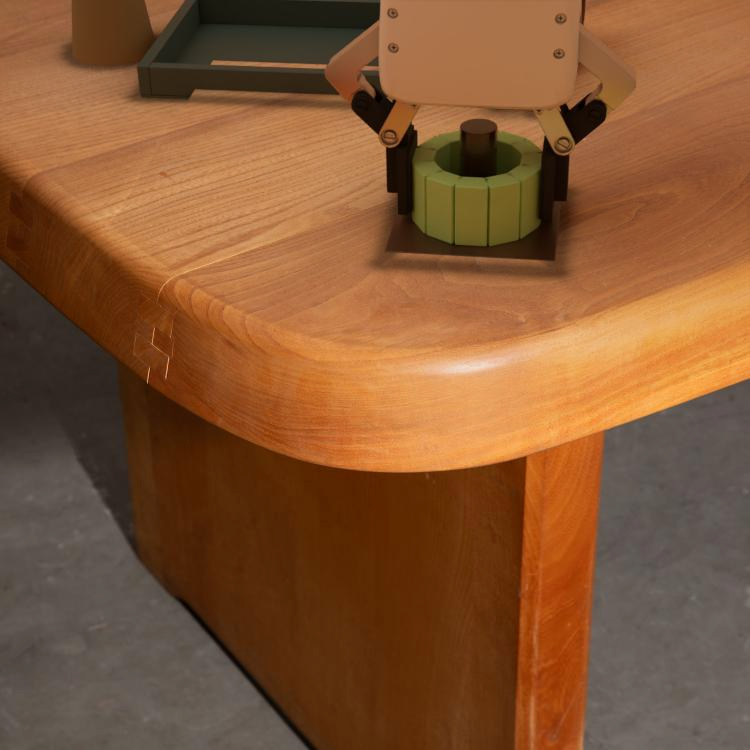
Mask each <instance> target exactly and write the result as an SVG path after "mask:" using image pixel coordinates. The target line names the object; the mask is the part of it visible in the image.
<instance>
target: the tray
mask: <svg viewBox="0 0 750 750" xmlns="http://www.w3.org/2000/svg"><path fill="white" fill-rule="evenodd" d="M378 20H380V0H184V1H183V2H182V4H181V5H180V7H179V8H178V9H177V10H176V12H175V13H174V14H173V16H172V17H171V18H170V20H169V21H168V23H167V25H166V26H165V27H164V28H163V30H162V31H161V32H160V34H159V35H158V37H157V38H155V42H154V43H153V45H152V46H151V48H150V49H149V50H148V52H147V53H146V54H145V56H144V57H143V59H142V60H140V61H139V62H138V64H137V66H136V71H137V72H136V73H137V79H138V87H139V88H138V89H139V94H140V98H146V99H147V98H149V99H172V100H173V99H174V100H176V99H177V100H190V98H191V97H192V95H193V93H194V92H195V90H204V91H229V92H230V91H231V92H253V93H254V92H256V93H278V94H279V93H281V94H302V95H303V94H306V95H310V94H311V95H332V96H341V95H340V94H339V92H338V91H337V90H336V89H335V88H334V87H333V86H332V85H331V83H330V82H329V81H328V80H327V79H326V77H325V74H324V72H325V69H326V68H315V67H314V68H311V67H290V66H289V67H288V66H287V67H286V66H262V65H261V66H260V65H231V64H213V61H214V62H215V61H216V62H238V63H239V62H240V63H241V62H242V63H266V64H267V63H269V64H270V63H271V64H295V65H296V64H297V65H322V66H323V65H325V66H327V64H328V62H329V60H330V59H331V58H332V57H333V56H334V55H336V54H337V53H338V52H339V51H341V50H342V49H343V48H344V47H346V46H347V45H348V44H349V43H351V42H352V41H353V40H355V39H356V38H357V37H358V36H360V35H361V34H362V33H363V32H365V31H366V30H367V29H368V28H370V27H371V26H372V25H373V24H375V23H376V22H377V21H378ZM365 67H378V68H379V56H378V57H376V58H375V59H374V60H372V61H371V62H370V63H369V64H367V65H366V66H365ZM360 71H361V73H362V74H363V76H364V77H365V79H366V80H367V82H368V83H370V84H373V85H374V86H375V87H376V88H377V89H378V90H379V91H380V92H381V93H383V94H384V95H385V96H386V97H387V98H390V97H389V96H387V95H386V94H385V93H384V92H383V90H382V87H381V84H380V77H379V70H371V69H370V70H369V69H361V70H360Z"/></svg>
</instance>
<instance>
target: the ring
mask: <svg viewBox="0 0 750 750" xmlns="http://www.w3.org/2000/svg"><path fill="white" fill-rule="evenodd" d="M542 150H543V149H541V148H540V147H538V146H537V145H536V144H535V143H534V142H533V141H532V140H531V139H528V138H527V137H524V136H520V135H517V134H514V133H511V132H508V131H504V130H501V131H500V130H499V129H498V132H497V175H496V176H491V177H486V178H478V177H461V176H459V165H460V130H455V131H450V132H444V133H439V134H438V135H434V136H431V137H430V138H429V139H427V140H425V141H424V142H422V143H420V144H418V146H417V148H416V149H415V153H414V156H413V159H412V206H413V210H412V218H413V221H414V222H415V224H416V225H417V226H418V227H419V228H420V229H421V231H422V232H423V233H424V234H427V235H428V236H431V237H433V238H436V239H439V240H442V241H444V242H447V243H450V244H453V243H454V242H455V245H467V246H487V244H488V245H489V246H494V245H499V244H503V243H508V242H512V241H517V240H518V238H520V239H522V238H523V237H525V236H526V235H528V234H529V233H530V232H532V231H533V230H535V229H536V228H538V226H539V225H540V221H541V219H539V204H540V180H541V158H542Z"/></svg>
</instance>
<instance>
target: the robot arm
mask: <svg viewBox="0 0 750 750" xmlns="http://www.w3.org/2000/svg"><path fill="white" fill-rule="evenodd" d="M581 18H582V0H380V20H378V21H377V22H376V23H375V24H373V25H372V26H371V27H370V28H368V29H367V30H366V31H365V32H363V33H362V34H361V35H360V36H358V37H357V38H356V39H355V40H353V41H352V42H351V43H349V44H348V45H347V46H346V47H344V48H343V49H342V50H341V51H339V52H338V53H337V54H336V55H334V56H333V57H332V58H331V59H330V60H329V62H328V64H327V65H326V67H325V68H324V69H325V72H324V74H325V77H326V79H327V80H328V81H329V82H330V83H331V85H332V86H333V87H334V88H335V89H336V90H337V91H338V92H339V94H340V95H339V96H341V97H342V98H343V100H345V101H347V102H348V103H349V104H350V108H351V110H352V111H353V113H354V114H355V115H356V116H357V117H358V118H359V119H360V120H361V121H363V123H364V124H365V125H367V126H368V127H369V128H370V129H371V130H372V131H373V132H374V133H376V135H377V136H378V141H379V143H380V144H381V146H383V147H385V165H386V166H385V168H386V172H385V174H386V192H387V193H388V194H397V208H398V215H408V213H412V210H413V206H412V159H413V156H414V153H415V149H416V148H417V146H419V144H418V143H419V140H418V139H419V138H418V129H415V124H413V120H414V118H415V117H416V115H417V113H418V111H419V109H420V107H421V106H428V107H429V106H430V107H450V108H469V109H470V108H473V109H497V110H526V111H527V110H528V111H530V110H531V111H532V112H533V115H534V116H535V118H536V120H537V122H538V124H539V126H540V128H541V130H542V132H543V134H544V137H543V144H542V149H541V150H542V158H541V180H540V204H539V219H541V220H542V222H550V223H552V218H553V209H554V201H561V202H567V201H568V191H569V173H570V157H571V156H570V155H571V154H572V153H573V152H574V150H575V147H576V145H578V144H579V143H581V142H582V140H584V139H585V138H587V136H589V134H591V133H592V132H593V131H595V130H596V129H597V128H599V127H600V126H601V125H602V124H604V122H605V121H606V119H607V117H608V116H609V115H610V114H611V113H612V112H613V111H615V110H616V109H617V108H619V106H620V105H621V104H622V103H623V102H624V101H625V100H626V99H627V98H628V97H629V96H630V95H631V94H632V93H633V92H634V91H635V90H636V88H637V82H638V81H637V79H638V77H637V76H638V75H637V71H636V70H635V69H634V68H633V67H632V66H631V65H630V63H628V62H626V60H624V59H623V58H622V57H621V56H620V55H618V53H616V52H615V51H614V50H613V49H611V48H610V47H609V46H608V45H607V44H605V42H603V40H601V39H600V38H599V37H598V36H596V35H595V34H594V33H593V32H592V31H591V30H589V28H587V26H585V24H584V25H583V24H581ZM378 56H379V67H378V71H379V77H380V84H381V87H382V90H383V92H384V93H385V94H386V95H387V96H389V97H386V96H385V95H384V94H383V93H381V92H380V91H379V90H378V89H377V88H376V87H375V86H374V85H373V84H370V83H368V82H367V80H366V79H365V77H364V76H363V74H362V73H361V71H360V70H363V69H364V68H365V67H367V66H366V65H367V64H369V63H370V62H371V61H372V60H374V59H375V58H376V57H378ZM580 64H581V65H582V66H583V67H584V68H585V69H586V70H588V71H589V72H590V74H592V75H593V76H594V77H595V78H597V79H598V80H599V81H600V83H599V84H598V85H597V86H596V88H595V89H594V90H593V91H592V92H589V93H588V94H586V95H585V96H584V97H582V99H581V100H579V101H578V102H577V103H576V104H574V105H573V106H572V107H571V105H570V104H569V101H571V99H572V98H573V95H574V92H575V87H576V86H575V85H576V82H577V81H576V80H577V77H578V70H579V65H580ZM389 98H390V99H392V101H391V100H390V99H389Z"/></svg>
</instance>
